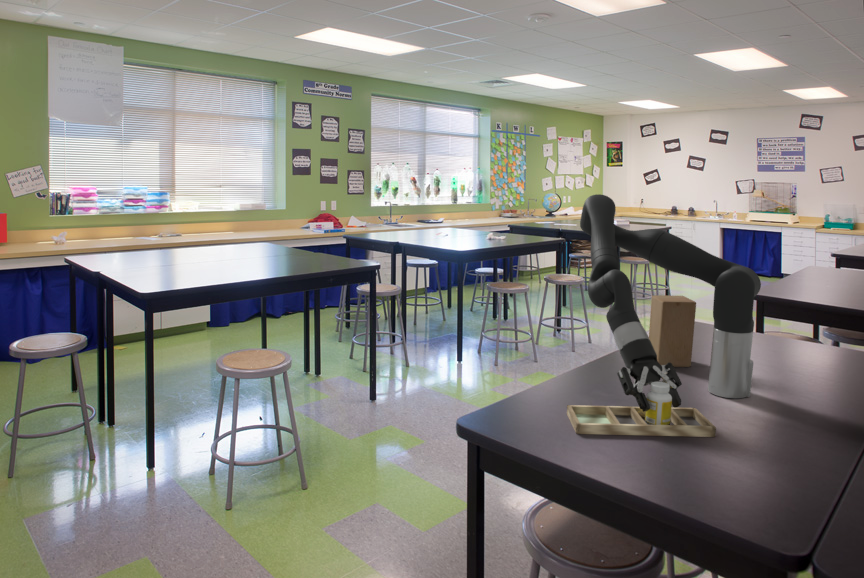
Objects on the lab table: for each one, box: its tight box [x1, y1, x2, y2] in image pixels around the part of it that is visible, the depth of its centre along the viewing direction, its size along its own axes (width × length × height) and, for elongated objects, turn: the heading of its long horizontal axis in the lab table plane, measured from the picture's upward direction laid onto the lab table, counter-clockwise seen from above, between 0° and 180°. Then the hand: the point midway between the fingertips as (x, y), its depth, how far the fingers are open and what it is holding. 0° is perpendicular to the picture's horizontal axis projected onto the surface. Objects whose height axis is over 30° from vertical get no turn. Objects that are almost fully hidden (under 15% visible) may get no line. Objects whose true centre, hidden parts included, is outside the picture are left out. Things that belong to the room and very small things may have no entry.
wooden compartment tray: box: [566, 404, 717, 438], centre depth 140 cm, size 30×12×2 cm, turn 88°
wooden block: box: [648, 294, 697, 368], centre depth 187 cm, size 10×10×20 cm
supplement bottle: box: [644, 382, 673, 425], centre depth 139 cm, size 5×5×10 cm
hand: (662, 408), depth 138 cm, fingers open, 8 cm apart
